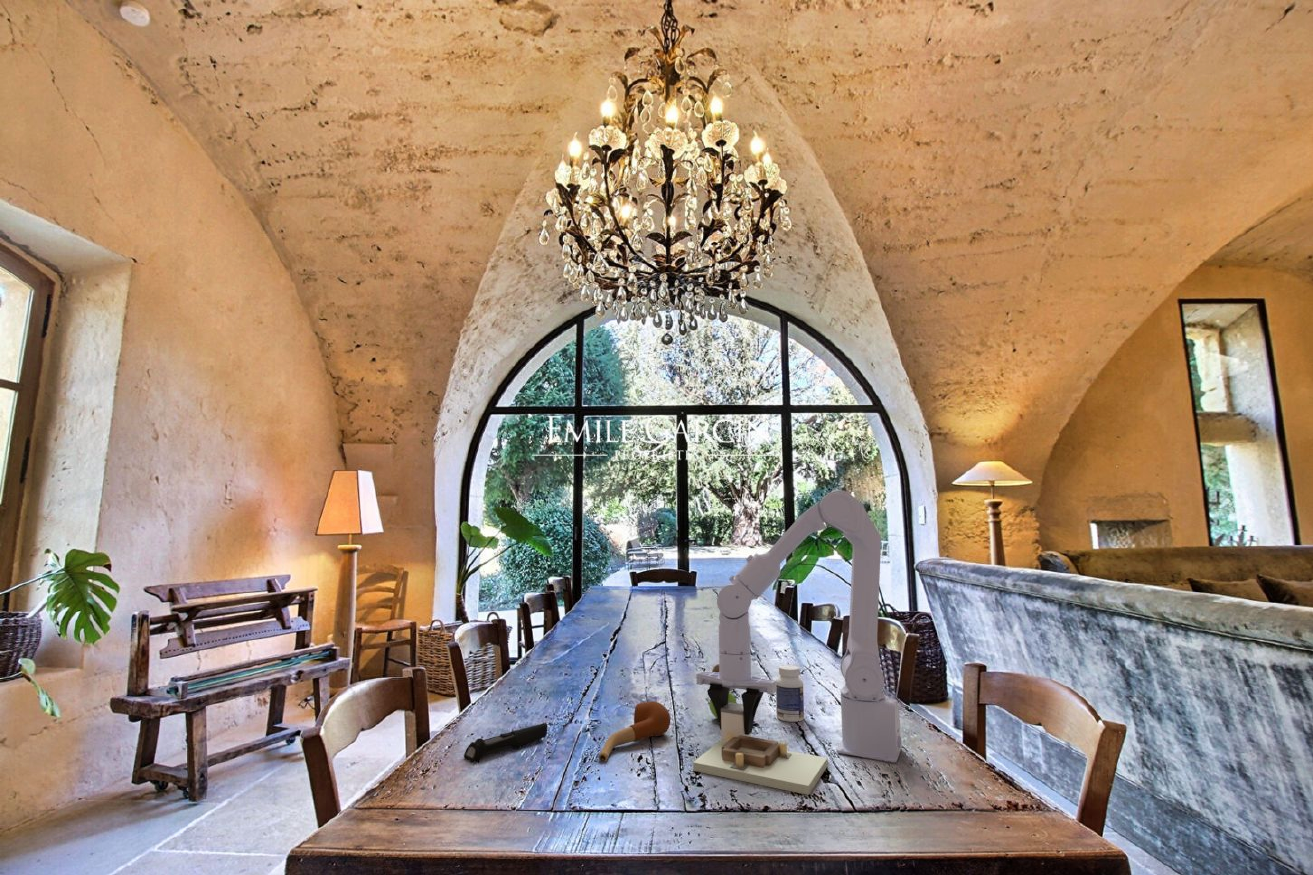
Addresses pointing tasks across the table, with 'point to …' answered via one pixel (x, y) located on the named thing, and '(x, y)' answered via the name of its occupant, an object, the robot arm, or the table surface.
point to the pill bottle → (789, 694)
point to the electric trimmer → (504, 742)
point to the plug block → (732, 720)
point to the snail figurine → (730, 699)
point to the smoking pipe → (640, 727)
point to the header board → (766, 768)
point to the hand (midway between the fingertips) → (736, 731)
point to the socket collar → (748, 757)
